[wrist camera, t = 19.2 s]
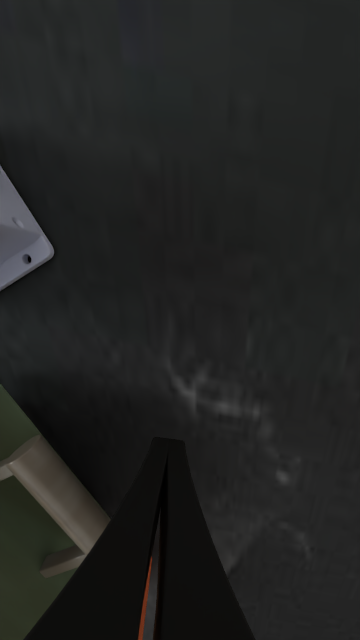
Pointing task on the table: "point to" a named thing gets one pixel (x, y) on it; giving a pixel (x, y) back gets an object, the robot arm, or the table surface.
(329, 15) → the table surface
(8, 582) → the drawer
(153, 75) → the table surface
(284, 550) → the table surface
